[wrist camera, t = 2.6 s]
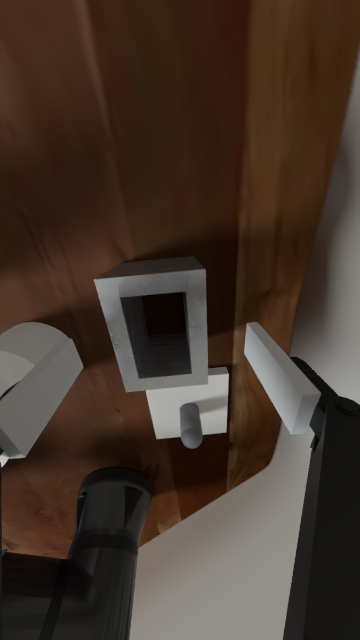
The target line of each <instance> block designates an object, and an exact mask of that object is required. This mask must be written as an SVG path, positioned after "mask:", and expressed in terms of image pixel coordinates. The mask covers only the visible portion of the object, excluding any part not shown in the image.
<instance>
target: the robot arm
mask: <svg viewBox="0 0 360 640" xmlns="http://www.w3.org/2000/svg"><path fill="white" fill-rule="evenodd" d="M244 354H245V355H246V357H247V359H248V361H249V362H250V364H251V366H252V368H253V369H254V371H255V373H256V375H257V376H258V378H259V380H260V382H261V383H262V385H263V387H264V389H265V390H266V392H267V394H268V396H269V397H270V399H271V401H272V403H273V404H274V406H275V408H276V410H277V411H278V413H279V415H280V417H281V418H282V420H283V422H284V424H285V425H286V427H287V429H288V431H289V432H290V434H291V435H297V434H306V433H307V431H308V429H309V426H310V427H311V428H312V430H313V431H314V433H315V435H314V438H313V441H312V443H311V446H310V447H311V448H312V451H311V458H310V465H309V471H308V478H307V484H306V491H305V498H304V504H303V511H302V517H301V524H300V531H299V537H298V544H297V550H296V557H295V563H294V570H293V576H292V583H291V590H290V596H289V602H288V609H287V615H286V622H285V629H284V636H283V640H360V405H359V404H357V403H356V402H354V401H352V400H350V399H348V398H345V397H341V396H338V395H337V394H336V392H334V390H333V389H331V387H330V386H328V384H327V383H325V382H324V380H323V379H321V377H320V376H319V375H317V373H316V372H315V371H314V370H312V368H311V367H310V366H309V365H308V364H307V363H306V362H304V361H303V360H301V359H299V358H298V357H288V356H287V355H286V354H285V353H284V351H283V350H282V349H281V348H280V347H279V346H278V345H277V344H276V342H275V341H274V340H273V339H272V338H271V337H270V336H269V335H268V334H267V332H266V331H265V330H264V329H263V328H262V327H261V326H260V325H259V324H258V322H252V323H247V327H246V338H245V349H244ZM82 369H83V364H82V362H81V359H80V357H79V355H78V352H77V350H76V347H75V345H74V342H73V340H72V339H62V340H61V341H60V342H59V343H58V344H57V345H56V346H55V347H54V348H53V349H52V350H51V351H50V352H49V353H48V354H47V355H46V356H45V357H44V358H43V359H42V360H41V361H40V362H39V363H38V364H37V365H36V366H35V367H34V368H33V369H32V370H31V371H30V372H29V373H28V374H27V375H26V376H25V377H24V378H23V379H22V380H21V381H19V382H17V383H16V384H14V385H13V386H11V387H10V388H8V389H7V390H6V391H5V392H4V393H3V394H2V395H1V397H0V456H1V455H2V453H3V452H4V453H5V454H6V455H7V456H8V457H9V458H10V459H13V458H25V457H26V455H27V454H28V452H29V451H30V449H31V448H32V446H33V445H34V443H35V442H36V440H37V438H38V437H39V435H40V434H41V432H42V431H43V429H44V428H45V426H46V425H47V423H48V421H49V420H50V418H51V417H52V415H53V414H54V412H55V411H56V409H57V407H58V406H59V404H60V403H61V401H62V400H63V398H64V397H65V395H66V394H67V392H68V390H69V389H70V387H71V386H72V384H73V383H74V381H75V380H76V378H77V377H78V375H79V373H80V372H81V370H82ZM152 489H153V485H152V482H151V481H150V479H149V478H148V477H146V476H145V475H143V474H141V473H139V472H136V471H133V470H129V469H122V468H110V469H103V470H99V471H96V472H93V473H91V474H89V475H88V476H86V477H85V478H84V480H83V482H82V484H81V487H80V490H79V493H78V497H77V506H76V516H75V526H74V536H73V540H72V544H71V547H70V550H69V553H68V556H67V559H59V558H52V557H44V556H36V555H27V554H19V553H11V552H7V550H8V549H4V550H2V511H1V462H0V640H129V637H130V627H131V617H132V607H133V596H134V587H135V577H136V566H137V555H138V546H139V539H140V536H141V532H142V529H143V526H144V523H145V520H146V517H147V513H148V510H149V507H150V504H151V500H152Z"/></svg>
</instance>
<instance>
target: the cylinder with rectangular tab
mask: <svg viewBox="0 0 360 640" xmlns="http://www.w3.org/2000/svg"><path fill="white" fill-rule="evenodd" d="M62 339H69V338H68V337H67V336H66V335H65V334H64V333H62V332H61V331H59V330H58V329H56V328H54V327H52V326H49V325H46V324H43V323H37V322H27V323H21V324H19V325H16V326H14V327H13V328H11V329H9V330H8V331H6V332H4V333H3V334H1V335H0V397H1V395H2V394H3V393H4V392H5V391H6V390H7V389H8V388H10V387H11V386H13V385H14V384H16V383H17V382H19V381H21V380H22V379H23V378H24V377H25V376H26V375H27V374H28V373H29V372H30V371H31V370H32V369H33V368H34V367H35V366H36V365H37V364H38V363H39V362H40V361H41V360H42V359H43V358H44V357H45V356H46V355H47V354H48V353H49V352H50V351H51V350H52V349H53V348H54V347H55V346H56V345H57V344H58V343H59V342H60V341H61V340H62ZM8 459H9V457H8V456H7V455H6V454H5V453H4V452H3V453H2V455H1V456H0V462H1V467H3V466H4V464H5V463H6V462H7V460H8Z"/></svg>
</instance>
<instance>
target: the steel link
mask: <svg viewBox="0 0 360 640" xmlns="http://www.w3.org/2000/svg"><path fill="white" fill-rule="evenodd" d="M94 282H95V285H96V289H97V292H98V296H99V299H100V303H101V306H102V310H103V313H104V317H105V320H106V324H107V327H108V331H109V334H110V337H111V341H112V344H113V348H114V351H115V355H116V358H117V362H118V365H119V369H120V372H121V376H122V379H123V383H124V386H125V390H126V392H133V391H143V390H154V389H164V388H175V387H185V386H196V385H206V384H208V351H207V306H206V269H205V268H204V267H203V266H202V265H201V264H200V262H199V261H198V260H197V259H196V258H195V257H194V256H188V257H177V258H166V259H156V260H145V261H134V262H123V263H120V264H118V265H117V266H115V267H113V268H112V269H110V270H109V271H107V272H105V273H104V274H102V275H100V276H99V277H97V278H96V279H94ZM174 292H183V302H184V315H185V327H186V332H181V333H171V334H160V335H149V336H148V331H147V325H146V320H145V314H144V309H143V304H142V298H141V296H142V295H153V294H163V293H174Z"/></svg>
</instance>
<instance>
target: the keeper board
mask: <svg viewBox="0 0 360 640" xmlns="http://www.w3.org/2000/svg"><path fill="white" fill-rule="evenodd" d="M228 380H229V373H228V371H227V368H226V367H218V368H208V384H206V385H196V386H185V387H175V388H164V389H154V390H146V394H147V399H148V403H149V408H150V412H151V416H152V421H153V425H154V430H155V434H156V439H163V438H174V437H181V440H182V442H183V444H184V445H185V446H186V447H188V448H191V449H193V448H196V447H198V446H199V445H200V444H201V442H202V439H203V435H205V434H215V433H226V430H227V405H228Z"/></svg>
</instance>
